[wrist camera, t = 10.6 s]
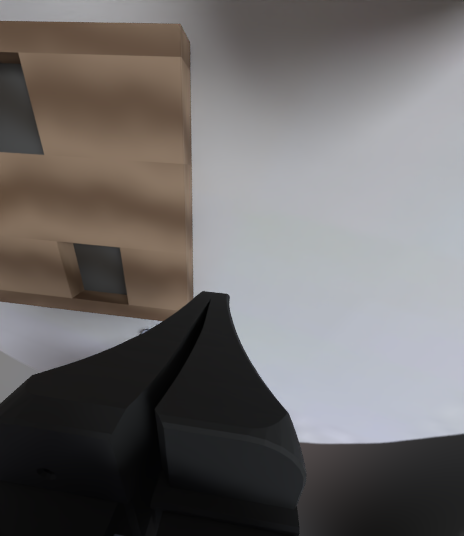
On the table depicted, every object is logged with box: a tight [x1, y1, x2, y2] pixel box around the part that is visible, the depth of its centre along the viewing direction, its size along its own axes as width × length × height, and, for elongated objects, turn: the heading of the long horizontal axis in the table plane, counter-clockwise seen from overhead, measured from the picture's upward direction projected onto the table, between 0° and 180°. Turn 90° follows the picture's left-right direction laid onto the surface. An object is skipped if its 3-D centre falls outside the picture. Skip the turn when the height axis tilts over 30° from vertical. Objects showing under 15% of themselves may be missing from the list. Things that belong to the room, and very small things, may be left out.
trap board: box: [0, 21, 193, 321], centre depth 19 cm, size 22×22×2 cm
